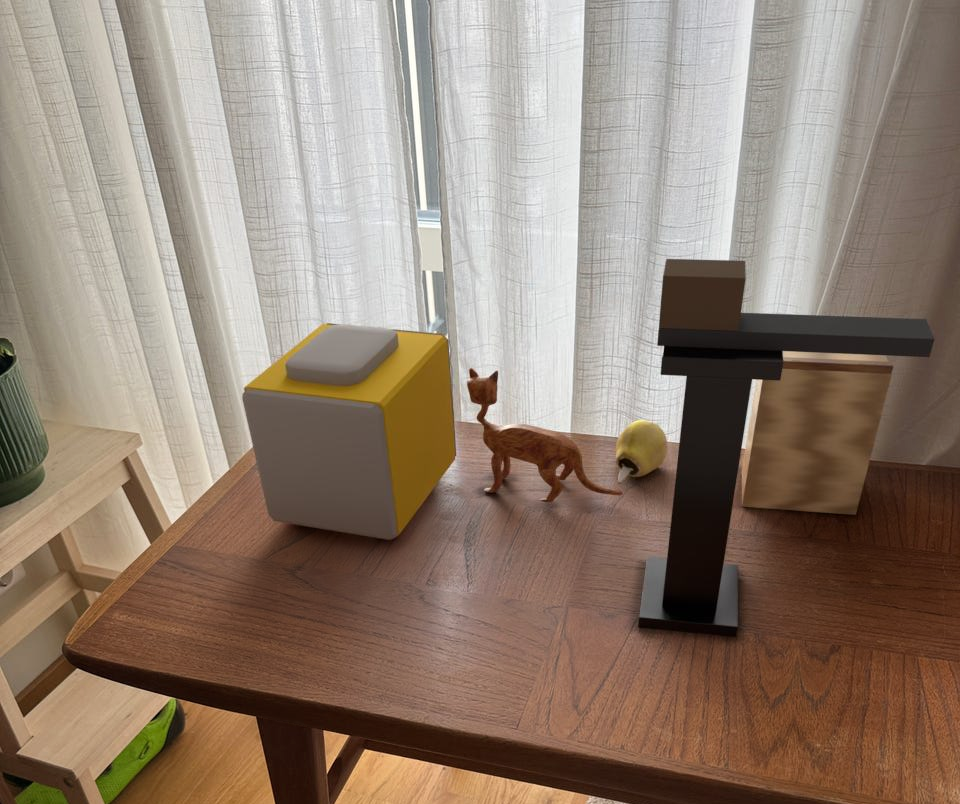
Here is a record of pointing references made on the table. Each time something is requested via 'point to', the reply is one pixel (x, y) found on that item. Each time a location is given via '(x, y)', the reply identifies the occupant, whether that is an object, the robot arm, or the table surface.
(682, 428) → the shelf stand
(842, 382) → the wavy wood-grain slab
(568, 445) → the cat figurine
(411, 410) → the alarm clock
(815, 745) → the table surface
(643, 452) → the fruit
